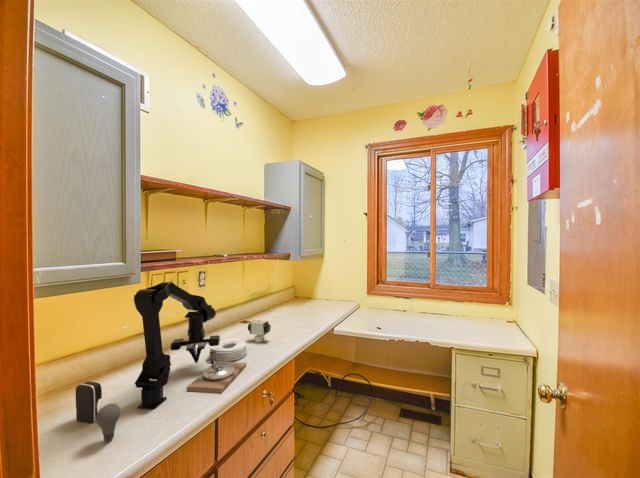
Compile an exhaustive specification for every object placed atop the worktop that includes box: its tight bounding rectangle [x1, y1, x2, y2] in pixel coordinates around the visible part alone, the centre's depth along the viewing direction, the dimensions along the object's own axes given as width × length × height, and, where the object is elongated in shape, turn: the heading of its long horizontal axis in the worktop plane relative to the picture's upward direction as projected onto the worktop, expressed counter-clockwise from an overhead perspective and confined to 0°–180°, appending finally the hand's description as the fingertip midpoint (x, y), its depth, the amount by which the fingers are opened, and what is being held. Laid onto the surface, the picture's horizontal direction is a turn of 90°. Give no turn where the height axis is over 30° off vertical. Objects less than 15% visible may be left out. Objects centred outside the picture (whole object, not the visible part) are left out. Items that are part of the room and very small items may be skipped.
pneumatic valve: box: [247, 319, 272, 344], centre depth 156 cm, size 6×12×12 cm, turn 74°
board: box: [186, 361, 247, 394], centre depth 116 cm, size 22×14×2 cm, turn 171°
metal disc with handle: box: [202, 350, 234, 381], centre depth 117 cm, size 15×12×6 cm
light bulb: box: [95, 403, 121, 442], centre depth 80 cm, size 6×6×10 cm
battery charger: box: [75, 381, 103, 424], centre depth 90 cm, size 7×4×11 cm, turn 76°
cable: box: [205, 339, 248, 364], centre depth 138 cm, size 18×18×6 cm
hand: (196, 362), depth 121 cm, fingers closed
